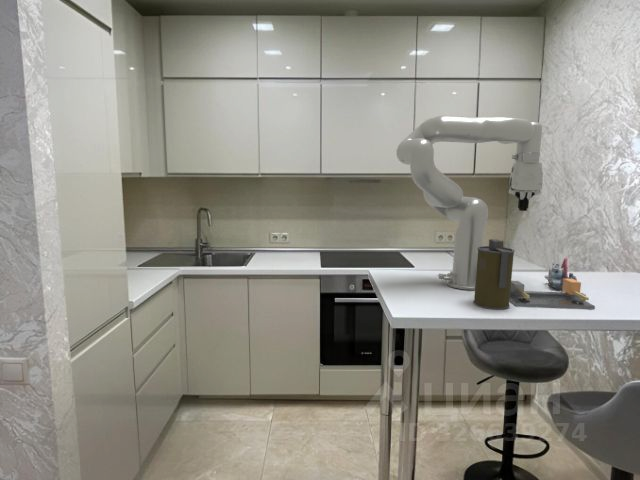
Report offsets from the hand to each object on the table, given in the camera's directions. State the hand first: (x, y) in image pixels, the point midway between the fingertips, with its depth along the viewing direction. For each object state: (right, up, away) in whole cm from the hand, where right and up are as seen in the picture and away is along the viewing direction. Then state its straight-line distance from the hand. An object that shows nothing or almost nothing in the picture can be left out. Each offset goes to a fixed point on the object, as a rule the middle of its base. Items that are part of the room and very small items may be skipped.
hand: (522, 210), depth 153 cm
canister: (-20, -31, -22) cm, 43 cm away
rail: (0, -30, -15) cm, 33 cm away
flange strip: (-2, -31, -22) cm, 38 cm away
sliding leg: (+8, -29, -19) cm, 36 cm away
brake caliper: (+13, -28, -1) cm, 31 cm away
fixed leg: (-9, -29, -18) cm, 35 cm away
